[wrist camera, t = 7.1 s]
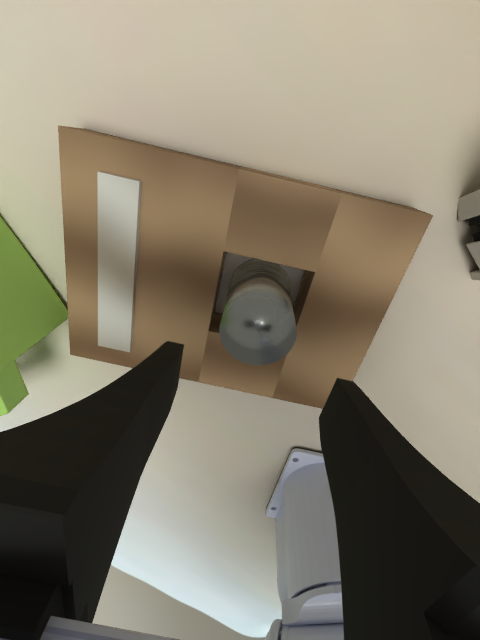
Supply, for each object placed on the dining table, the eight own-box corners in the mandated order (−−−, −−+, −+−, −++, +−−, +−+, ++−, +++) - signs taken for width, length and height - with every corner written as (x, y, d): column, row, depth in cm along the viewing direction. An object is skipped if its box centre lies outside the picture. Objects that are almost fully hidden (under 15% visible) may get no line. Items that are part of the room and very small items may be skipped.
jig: (330, 388, 23) (338, 416, 21) (88, 335, 23) (66, 358, 20) (412, 207, 17) (437, 216, 15) (84, 129, 17) (52, 124, 14)
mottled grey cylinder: (281, 315, 21) (286, 371, 16) (227, 306, 21) (214, 357, 16) (294, 264, 19) (305, 306, 14) (236, 253, 19) (225, 291, 14)
